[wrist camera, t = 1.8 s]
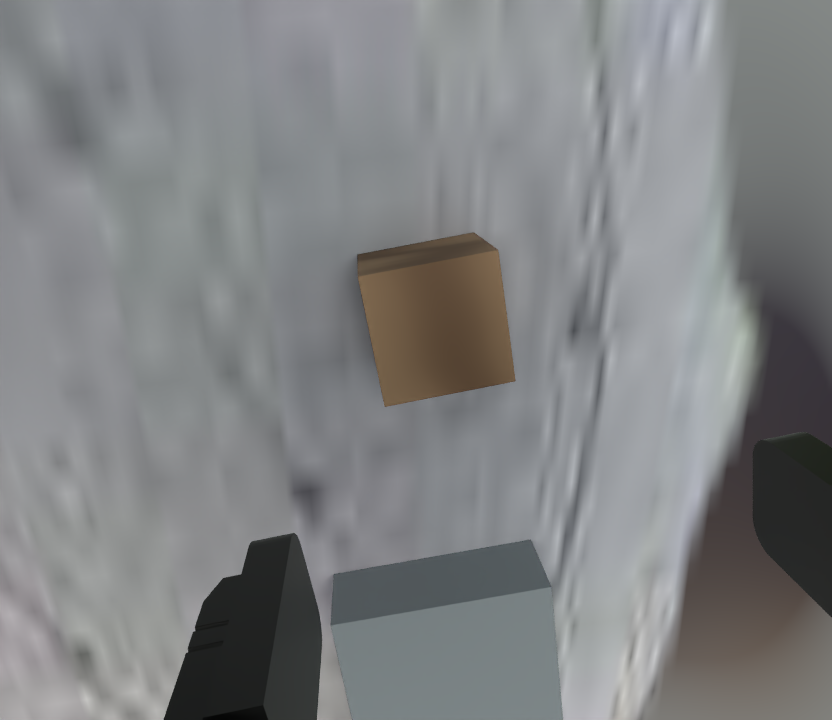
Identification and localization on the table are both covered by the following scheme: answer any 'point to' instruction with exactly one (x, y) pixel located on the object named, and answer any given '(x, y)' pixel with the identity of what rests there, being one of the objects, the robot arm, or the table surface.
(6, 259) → the table surface
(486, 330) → the walnut block
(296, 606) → the robot arm
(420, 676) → the slate base block
